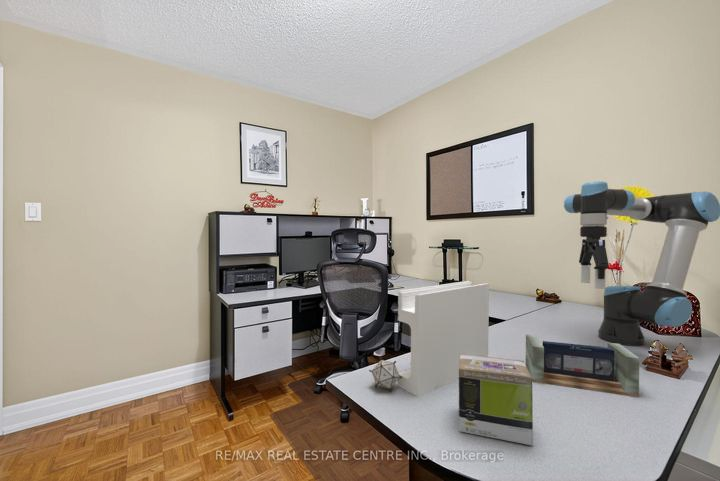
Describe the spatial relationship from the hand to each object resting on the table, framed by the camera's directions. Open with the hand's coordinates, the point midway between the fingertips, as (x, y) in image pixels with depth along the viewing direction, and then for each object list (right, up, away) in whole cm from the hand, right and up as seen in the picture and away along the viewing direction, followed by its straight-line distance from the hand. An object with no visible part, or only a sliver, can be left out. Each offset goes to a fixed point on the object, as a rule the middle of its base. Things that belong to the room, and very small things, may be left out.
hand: (592, 285), depth 110 cm
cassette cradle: (-16, -27, -15) cm, 35 cm away
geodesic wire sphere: (-75, -27, -20) cm, 83 cm away
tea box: (-52, -27, -38) cm, 70 cm away
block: (-55, -27, -12) cm, 63 cm away
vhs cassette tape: (-16, -26, -15) cm, 34 cm away
